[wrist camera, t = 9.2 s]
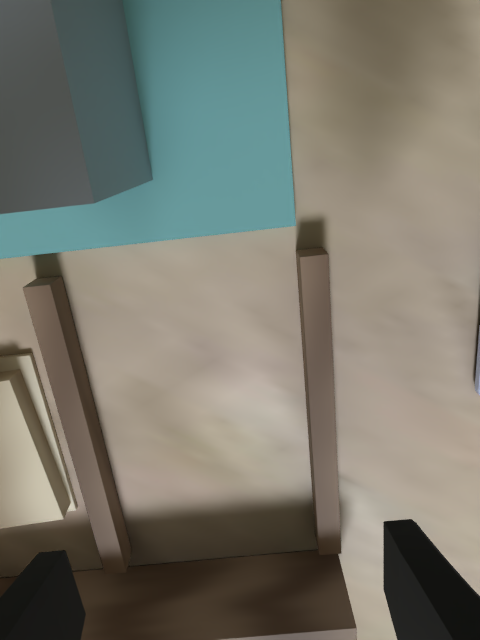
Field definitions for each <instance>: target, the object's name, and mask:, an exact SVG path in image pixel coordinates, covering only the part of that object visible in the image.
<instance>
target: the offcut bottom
mask: <svg viewBox="0 0 480 640" xmlns="http://www.w3.org/2000/svg"><path fill="white" fill-rule="evenodd" d="M17 369H20V370H21V373H22V376H23V378H24V381H25V383H26V386H27V389H28V391H29V394H30V397H31V399H32V402H33V404H34V407H35V410H36V412H37V415H38V418H39V420H40V423H41V425H42V428H43V431H44V433H45V436H46V439H47V441H48V444H49V447H50V449H51V452H52V454H53V457H54V460H55V462H56V465H57V468H58V470H59V473H60V475H61V478H62V481H63V483H64V486H65V489H66V491H67V494H68V496H69V499H70V502H71V504H70V506H69V508H68V510H67V511H75V510H77V507H78V506H77V502H76V499H75V496H74V492H73V489H72V486H71V482H70V479H69V475H68V472H67V469H66V465H65V462H64V458H63V455H62V452H61V448H60V445H59V441H58V438H57V435H56V431H55V428H54V424H53V421H52V418H51V414H50V411H49V407H48V404H47V401H46V397H45V394H44V391H43V387H42V384H41V380H40V377H39V374H38V370H37V367H36V363H35V360H34V357H33V353H26V354H16V355H6V356H0V372H5V371H11V370H17Z"/></svg>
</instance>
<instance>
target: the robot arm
mask: <svg viewBox="0 0 480 640" xmlns="http://www.w3.org/2000/svg"><path fill="white" fill-rule="evenodd" d="M475 391H476V392H477V393H478V394H479V395H480V327H479V340H478V352H477V365H476V377H475ZM384 592H385V596H386V599H387V603H388V607H389V611H390V614H391V618H392V622H393V625H394V629H395V632H396V636H397V640H480V596H479V595H478V594H477V593H476V592H475V591H474V590H473V589H472V588H471V587H470V585H469V584H468V583H467V582H466V581H465V580H464V579H463V578H462V577H461V575H460V574H459V573H458V572H457V571H456V570H455V569H454V568H453V566H452V565H451V564H450V563H449V562H448V561H447V560H446V558H445V557H444V556H443V555H442V554H441V553H440V551H439V550H438V549H437V548H436V547H435V545H434V544H433V543H432V542H431V541H430V539H429V538H428V537H427V536H426V535H425V533H424V532H423V531H422V530H421V528H420V527H419V526H418V525H417V523H416V522H414V521H413V520H412V519H407V520H396V521H385V522H384ZM85 616H86V613H85V610H84V607H83V604H82V600H81V597H80V594H79V591H78V588H77V585H76V582H75V579H74V576H73V572H72V569H71V566H70V563H69V560H68V557H67V554H66V551H65V550H63V551H52V552H41V553H38V555H37V556H36V557H35V558H34V559H33V560H32V561H31V562H30V564H29V565H28V566H27V567H26V568H25V569H24V570H23V572H22V573H21V574H20V575H19V576H18V577H17V579H16V580H15V581H14V582H13V583H12V584H11V585H10V587H9V588H8V589H7V590H6V591H5V592H4V594H3V595H2V596H1V597H0V640H81V636H82V631H83V626H84V621H85Z"/></svg>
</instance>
